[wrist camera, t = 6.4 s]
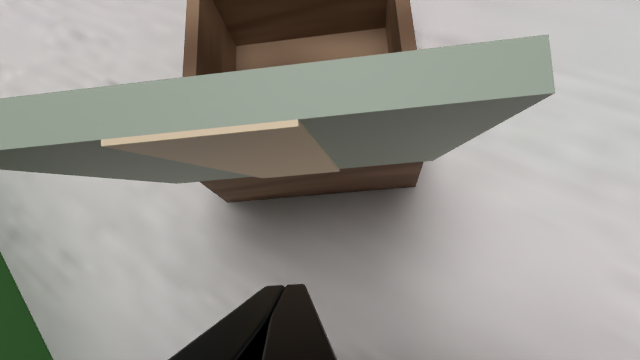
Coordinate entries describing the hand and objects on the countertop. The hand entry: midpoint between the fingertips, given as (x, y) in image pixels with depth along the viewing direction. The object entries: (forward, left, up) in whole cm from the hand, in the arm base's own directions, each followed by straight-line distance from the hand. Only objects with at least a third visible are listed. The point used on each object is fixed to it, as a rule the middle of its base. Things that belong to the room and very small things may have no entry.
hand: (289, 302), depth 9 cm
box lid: (+4, +1, -1) cm, 5 cm away
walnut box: (+11, +1, -12) cm, 16 cm away
